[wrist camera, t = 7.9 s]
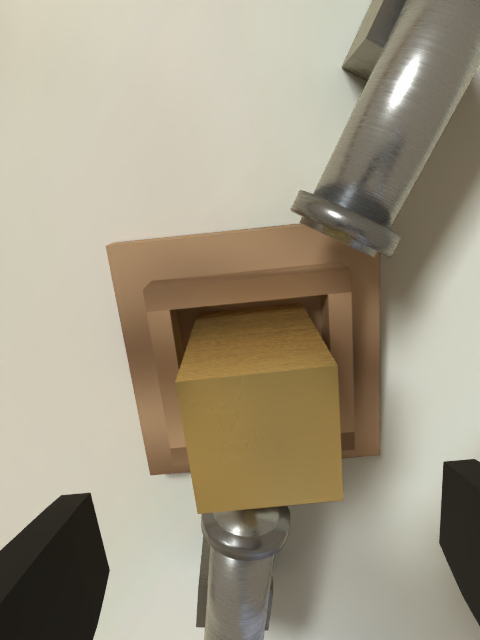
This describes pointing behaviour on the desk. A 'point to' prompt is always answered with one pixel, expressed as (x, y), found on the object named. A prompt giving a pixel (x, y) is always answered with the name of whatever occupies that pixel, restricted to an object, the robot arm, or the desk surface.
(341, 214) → the shaft
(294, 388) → the rectangular peg
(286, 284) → the socket
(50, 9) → the desk surface
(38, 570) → the robot arm
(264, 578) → the shaft
